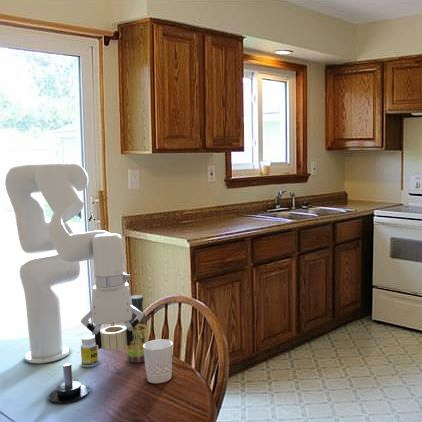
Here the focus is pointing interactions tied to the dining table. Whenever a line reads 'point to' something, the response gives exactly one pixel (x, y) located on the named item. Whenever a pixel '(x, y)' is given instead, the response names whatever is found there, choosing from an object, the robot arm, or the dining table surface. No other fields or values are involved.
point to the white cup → (158, 360)
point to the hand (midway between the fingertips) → (114, 345)
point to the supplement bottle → (89, 351)
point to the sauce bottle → (138, 333)
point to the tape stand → (68, 389)
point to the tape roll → (113, 337)
